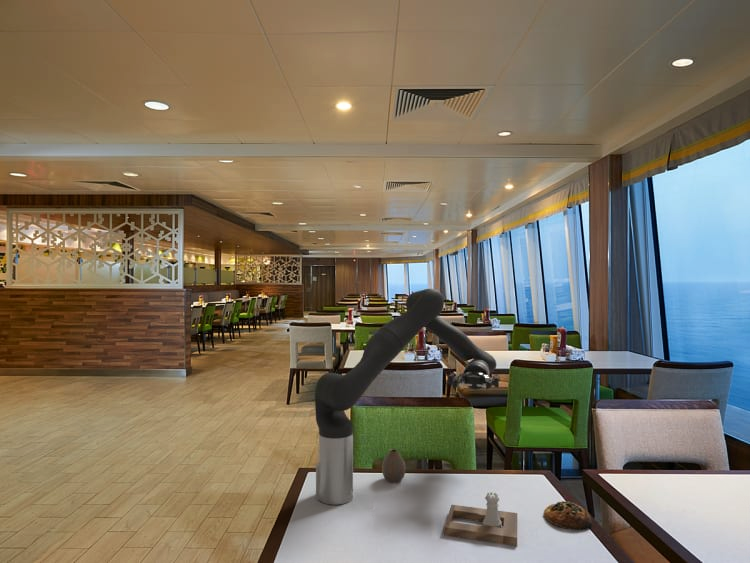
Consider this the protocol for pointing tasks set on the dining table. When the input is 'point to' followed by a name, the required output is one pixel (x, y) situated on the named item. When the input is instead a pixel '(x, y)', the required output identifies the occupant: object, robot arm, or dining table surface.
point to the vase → (393, 467)
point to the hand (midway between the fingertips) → (471, 384)
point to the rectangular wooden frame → (480, 531)
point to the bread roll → (568, 516)
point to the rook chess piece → (492, 511)
